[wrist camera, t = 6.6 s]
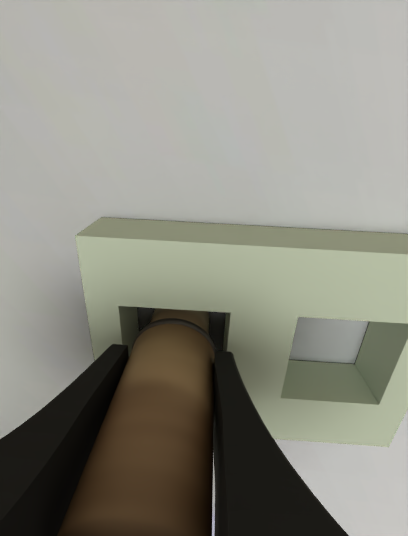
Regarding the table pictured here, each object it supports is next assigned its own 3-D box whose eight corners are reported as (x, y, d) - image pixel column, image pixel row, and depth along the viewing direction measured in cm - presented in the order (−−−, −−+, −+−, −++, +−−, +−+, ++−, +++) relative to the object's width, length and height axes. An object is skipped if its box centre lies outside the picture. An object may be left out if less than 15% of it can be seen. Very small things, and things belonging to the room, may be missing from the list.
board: (364, 403, 16) (388, 446, 14) (120, 386, 16) (104, 426, 14) (432, 235, 12) (482, 258, 10) (101, 217, 12) (74, 235, 10)
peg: (214, 347, 15) (208, 600, 7) (148, 343, 15) (65, 587, 7) (218, 290, 14) (219, 523, 5) (145, 285, 14) (36, 509, 5)
